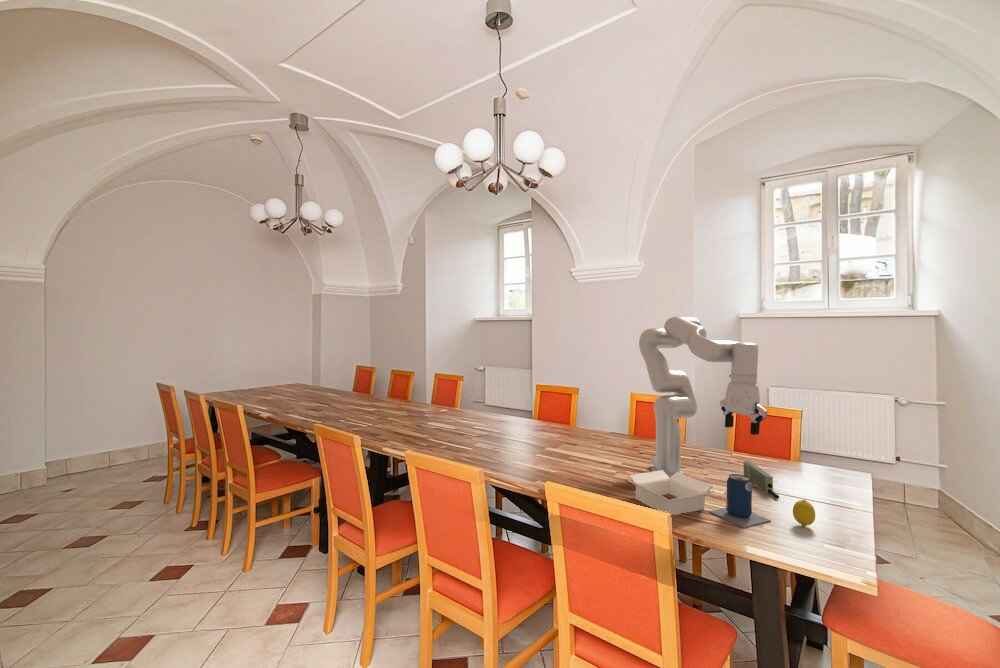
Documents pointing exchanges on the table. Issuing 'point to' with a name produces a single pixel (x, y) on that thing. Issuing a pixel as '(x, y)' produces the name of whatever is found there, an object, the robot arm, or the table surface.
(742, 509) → the soda can
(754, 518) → the mat
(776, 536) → the table surface
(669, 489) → the carton
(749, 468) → the handheld radio
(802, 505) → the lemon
